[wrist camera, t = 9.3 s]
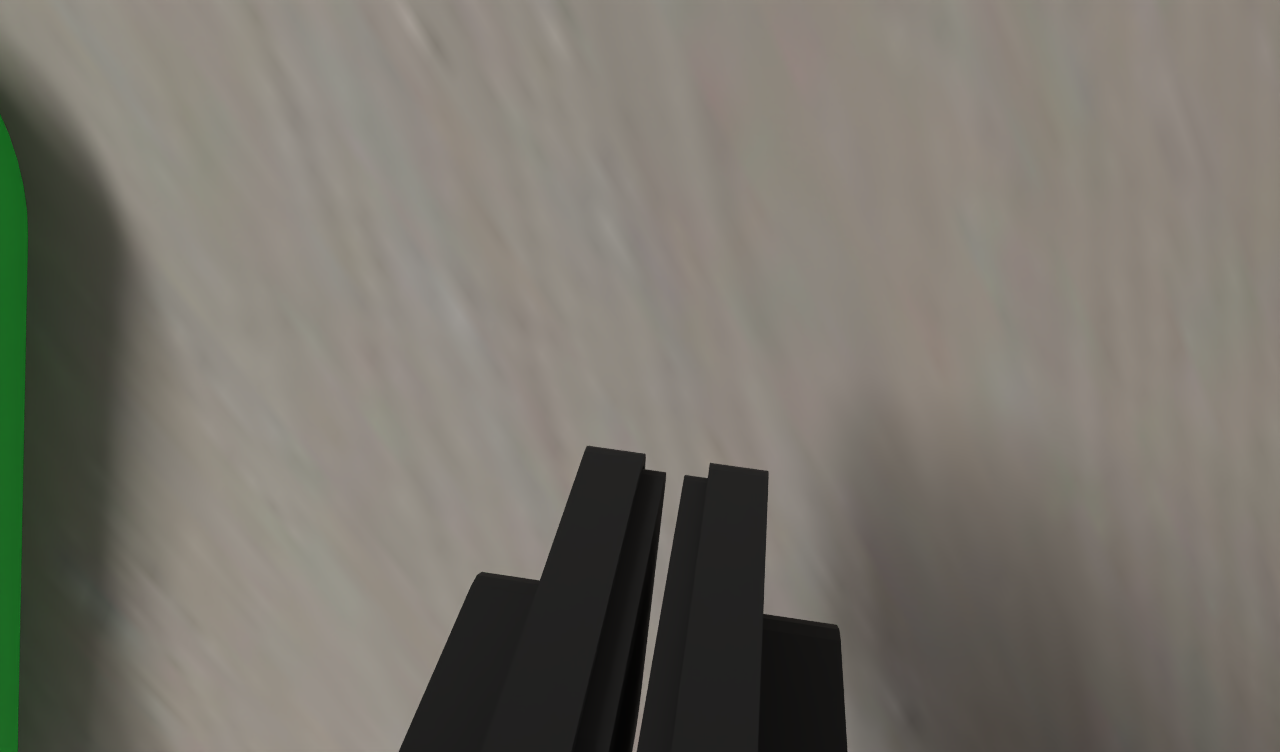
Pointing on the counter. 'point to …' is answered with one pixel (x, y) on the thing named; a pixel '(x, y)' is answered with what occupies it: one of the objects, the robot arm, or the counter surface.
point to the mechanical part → (11, 428)
